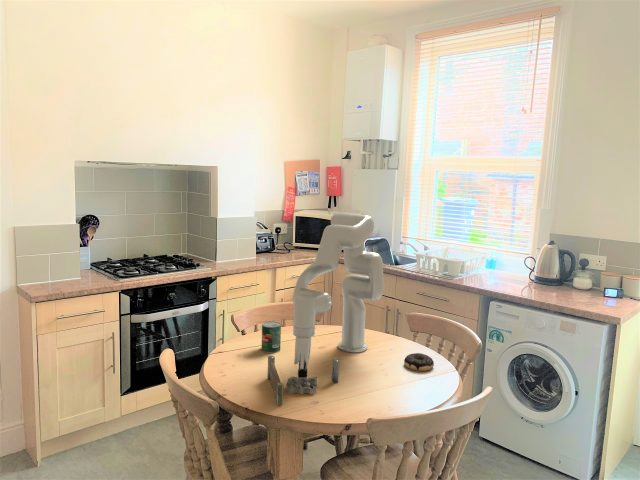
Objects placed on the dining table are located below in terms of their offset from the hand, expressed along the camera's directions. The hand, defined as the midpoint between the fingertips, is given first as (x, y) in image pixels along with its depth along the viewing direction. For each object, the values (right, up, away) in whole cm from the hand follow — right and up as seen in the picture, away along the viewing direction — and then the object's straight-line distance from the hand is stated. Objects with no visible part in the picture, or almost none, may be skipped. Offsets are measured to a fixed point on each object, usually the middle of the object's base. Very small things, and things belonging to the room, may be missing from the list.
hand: (302, 380), depth 181 cm
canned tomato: (-14, +4, +31) cm, 35 cm away
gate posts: (0, -1, +2) cm, 2 cm away
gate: (-9, -1, -9) cm, 12 cm away
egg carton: (0, -2, -5) cm, 6 cm away
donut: (+45, 0, +19) cm, 49 cm away
